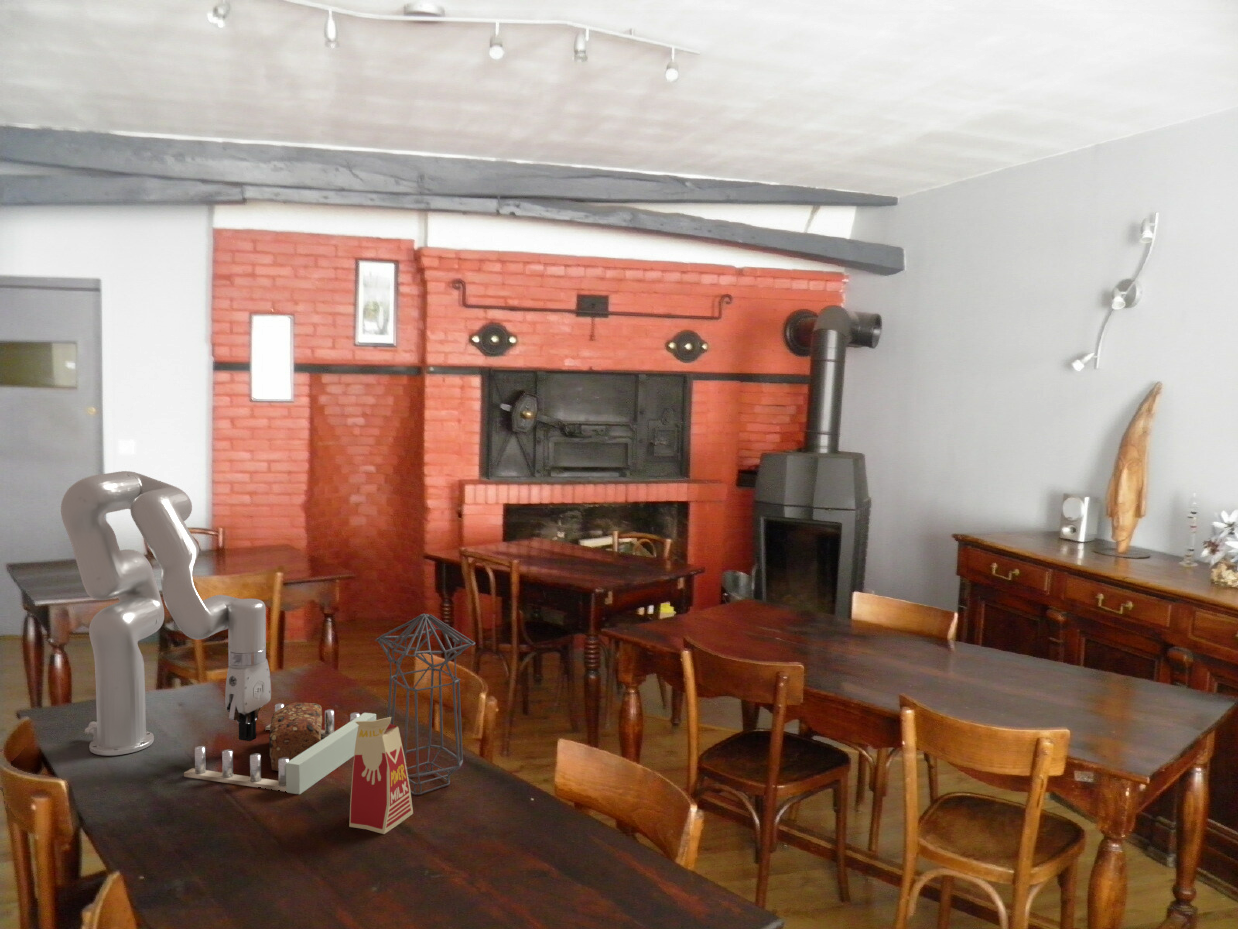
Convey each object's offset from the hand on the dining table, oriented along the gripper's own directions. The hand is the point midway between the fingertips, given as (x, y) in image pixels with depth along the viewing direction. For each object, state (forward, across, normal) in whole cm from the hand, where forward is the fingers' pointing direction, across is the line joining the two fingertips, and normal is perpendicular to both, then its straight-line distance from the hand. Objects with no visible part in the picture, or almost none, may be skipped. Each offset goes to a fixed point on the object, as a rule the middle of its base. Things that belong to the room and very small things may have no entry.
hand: (247, 739), depth 207 cm
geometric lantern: (+3, -3, -44) cm, 44 cm away
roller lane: (+3, 0, -9) cm, 9 cm away
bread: (+3, +2, -11) cm, 11 cm away
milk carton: (+3, -20, -43) cm, 47 cm away
